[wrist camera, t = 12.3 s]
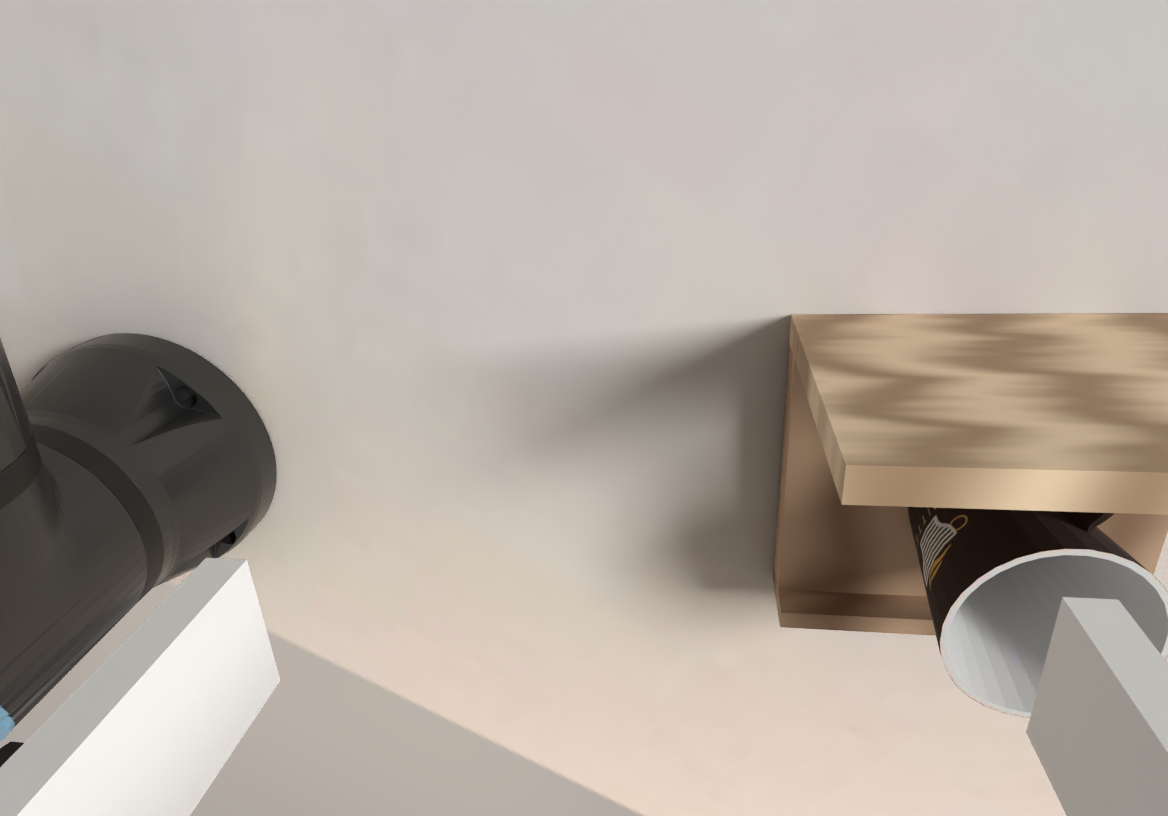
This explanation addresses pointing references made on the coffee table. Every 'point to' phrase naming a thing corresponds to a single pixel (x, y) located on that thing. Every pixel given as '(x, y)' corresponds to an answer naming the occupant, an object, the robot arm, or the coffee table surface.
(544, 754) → the coffee table surface
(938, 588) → the coffee mug
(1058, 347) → the light brown blocky piece
